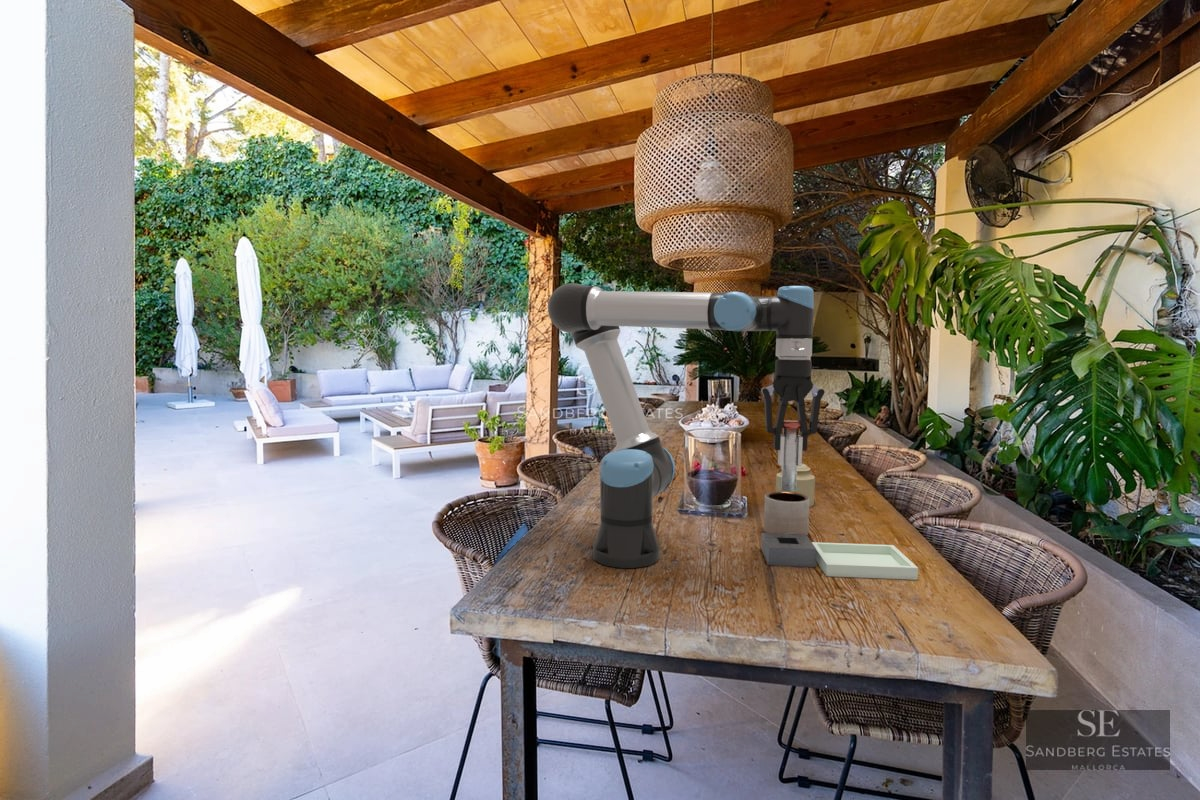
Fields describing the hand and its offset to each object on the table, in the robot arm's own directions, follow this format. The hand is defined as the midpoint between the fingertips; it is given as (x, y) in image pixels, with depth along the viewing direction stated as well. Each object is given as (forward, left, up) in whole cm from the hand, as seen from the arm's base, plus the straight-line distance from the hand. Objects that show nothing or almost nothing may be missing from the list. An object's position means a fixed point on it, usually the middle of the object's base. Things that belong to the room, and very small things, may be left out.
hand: (789, 464), depth 136 cm
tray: (+15, -3, -21) cm, 26 cm away
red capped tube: (0, 0, -6) cm, 6 cm away
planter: (+3, +18, -22) cm, 28 cm away
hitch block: (0, 0, -21) cm, 21 cm away
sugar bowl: (+11, +49, -21) cm, 55 cm away
